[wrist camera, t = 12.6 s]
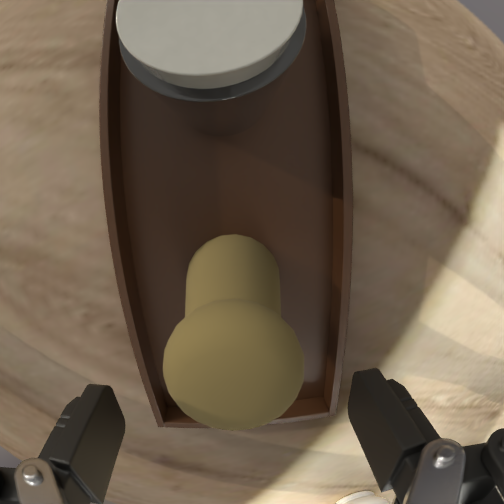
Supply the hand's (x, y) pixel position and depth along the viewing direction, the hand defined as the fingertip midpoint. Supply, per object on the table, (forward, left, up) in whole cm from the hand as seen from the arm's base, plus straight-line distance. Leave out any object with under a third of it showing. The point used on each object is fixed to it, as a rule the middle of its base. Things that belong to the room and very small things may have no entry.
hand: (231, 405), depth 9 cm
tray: (0, +6, -12) cm, 13 cm away
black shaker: (0, +12, -11) cm, 16 cm away
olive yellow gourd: (0, 0, -11) cm, 11 cm away
